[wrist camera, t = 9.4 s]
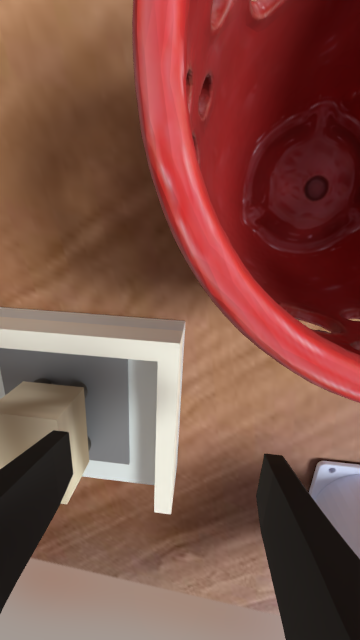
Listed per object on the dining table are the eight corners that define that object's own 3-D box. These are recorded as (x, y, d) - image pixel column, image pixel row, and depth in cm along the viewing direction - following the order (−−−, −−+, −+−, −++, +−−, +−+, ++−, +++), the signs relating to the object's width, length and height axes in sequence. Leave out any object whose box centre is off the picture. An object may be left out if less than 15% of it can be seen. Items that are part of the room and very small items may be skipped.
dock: (185, 321, 17) (180, 343, 14) (176, 465, 21) (171, 514, 18) (-31, 304, 19) (-91, 321, 15) (0, 444, 22) (-42, 486, 19)
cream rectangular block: (91, 377, 17) (57, 419, 13) (96, 448, 19) (66, 504, 15) (35, 371, 17) (-16, 411, 13) (45, 442, 19) (2, 495, 15)
